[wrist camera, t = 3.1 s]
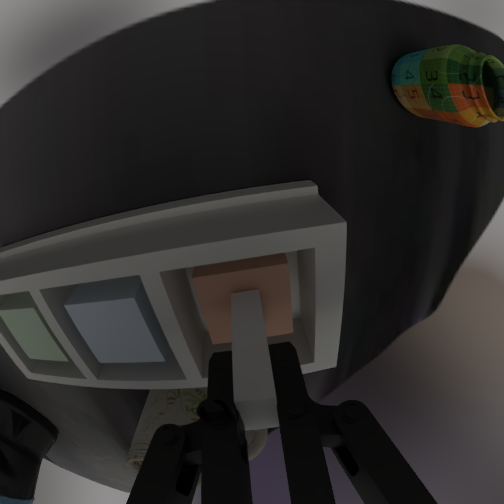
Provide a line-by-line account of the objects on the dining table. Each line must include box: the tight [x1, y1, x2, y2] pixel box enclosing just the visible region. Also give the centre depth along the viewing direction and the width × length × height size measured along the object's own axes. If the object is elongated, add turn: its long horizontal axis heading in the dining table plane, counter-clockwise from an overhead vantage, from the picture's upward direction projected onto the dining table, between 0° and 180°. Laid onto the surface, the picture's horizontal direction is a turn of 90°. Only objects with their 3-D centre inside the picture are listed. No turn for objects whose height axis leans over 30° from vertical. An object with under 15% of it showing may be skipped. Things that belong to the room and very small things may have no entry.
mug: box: [126, 387, 267, 485], centre depth 21 cm, size 8×13×10 cm, turn 89°
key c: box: [192, 253, 293, 344], centre depth 16 cm, size 5×5×2 cm
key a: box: [0, 291, 71, 362], centre depth 15 cm, size 5×5×2 cm
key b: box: [64, 275, 169, 363], centre depth 15 cm, size 5×5×2 cm
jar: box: [391, 45, 504, 127], centre depth 10 cm, size 5×5×8 cm
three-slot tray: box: [0, 180, 347, 389], centre depth 16 cm, size 26×11×6 cm, turn 98°
